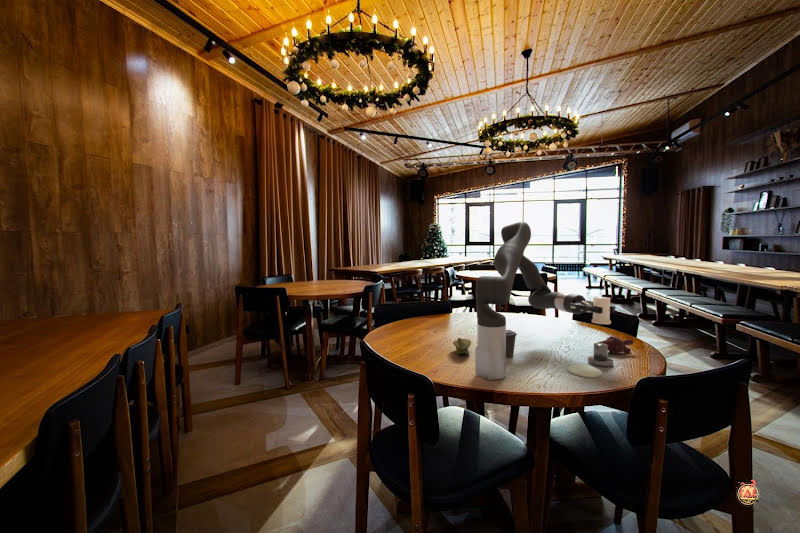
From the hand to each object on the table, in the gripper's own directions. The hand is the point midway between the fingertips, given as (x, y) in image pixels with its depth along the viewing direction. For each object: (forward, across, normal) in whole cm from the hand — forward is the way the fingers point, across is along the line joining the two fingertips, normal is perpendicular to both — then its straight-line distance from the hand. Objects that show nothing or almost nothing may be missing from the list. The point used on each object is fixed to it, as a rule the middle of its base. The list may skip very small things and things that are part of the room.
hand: (607, 310), depth 121 cm
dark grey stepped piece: (-3, 0, +20) cm, 20 cm away
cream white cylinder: (-3, 0, +5) cm, 6 cm away
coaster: (+2, -12, +20) cm, 24 cm away
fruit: (-31, -41, +21) cm, 56 cm away
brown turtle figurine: (-10, +15, +20) cm, 27 cm away
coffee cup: (-23, -26, +20) cm, 40 cm away
